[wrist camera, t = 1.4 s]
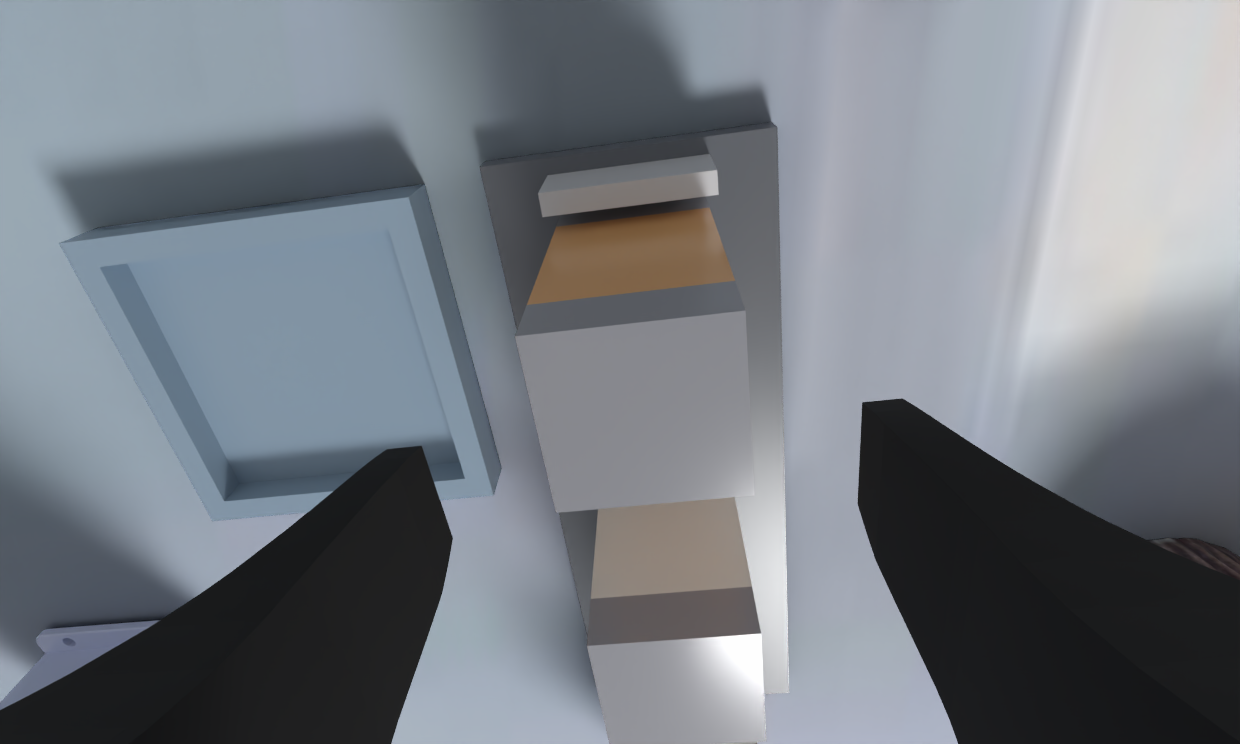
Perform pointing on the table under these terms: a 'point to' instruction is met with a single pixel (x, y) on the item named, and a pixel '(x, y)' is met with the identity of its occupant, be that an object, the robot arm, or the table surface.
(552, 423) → the block
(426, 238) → the tray
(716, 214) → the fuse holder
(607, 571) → the block
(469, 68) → the table surface
